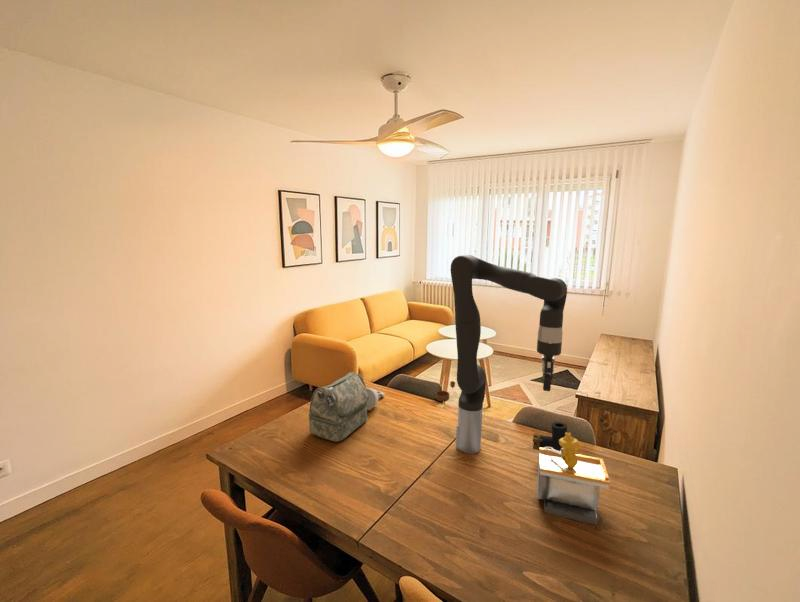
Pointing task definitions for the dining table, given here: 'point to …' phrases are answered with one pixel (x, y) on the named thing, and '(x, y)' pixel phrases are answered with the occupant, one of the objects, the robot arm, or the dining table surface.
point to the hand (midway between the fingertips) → (546, 385)
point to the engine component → (373, 397)
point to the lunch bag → (339, 408)
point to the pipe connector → (547, 441)
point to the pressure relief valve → (567, 450)
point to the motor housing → (571, 486)
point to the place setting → (444, 394)
